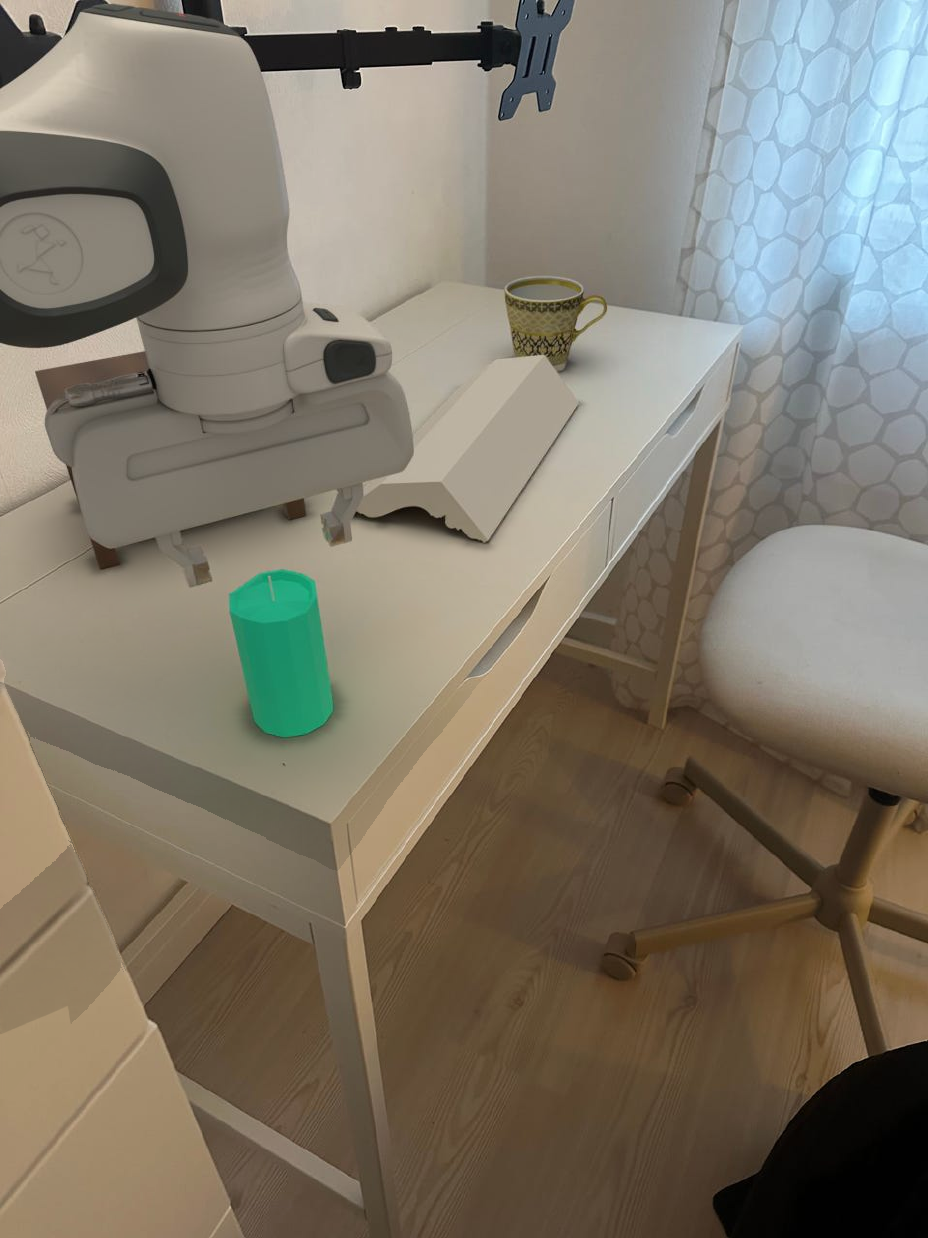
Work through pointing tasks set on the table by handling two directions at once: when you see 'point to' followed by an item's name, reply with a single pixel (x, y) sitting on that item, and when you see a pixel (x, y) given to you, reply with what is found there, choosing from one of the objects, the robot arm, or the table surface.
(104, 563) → the stand
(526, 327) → the ceramic cup
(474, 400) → the molding piece
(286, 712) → the candle
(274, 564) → the table surface
